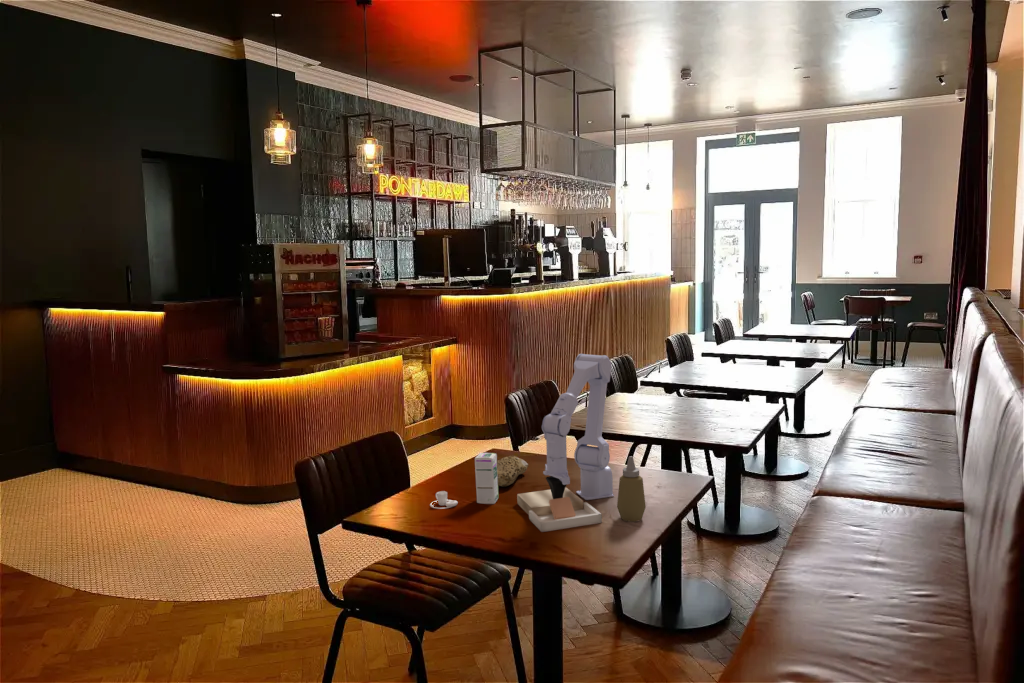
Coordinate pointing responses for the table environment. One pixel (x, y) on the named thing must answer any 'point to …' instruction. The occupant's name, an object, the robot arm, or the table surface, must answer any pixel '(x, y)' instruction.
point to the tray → (566, 519)
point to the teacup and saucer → (443, 500)
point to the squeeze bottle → (631, 493)
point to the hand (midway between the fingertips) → (557, 501)
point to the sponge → (510, 469)
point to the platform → (545, 501)
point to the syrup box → (486, 478)
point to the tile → (562, 508)
